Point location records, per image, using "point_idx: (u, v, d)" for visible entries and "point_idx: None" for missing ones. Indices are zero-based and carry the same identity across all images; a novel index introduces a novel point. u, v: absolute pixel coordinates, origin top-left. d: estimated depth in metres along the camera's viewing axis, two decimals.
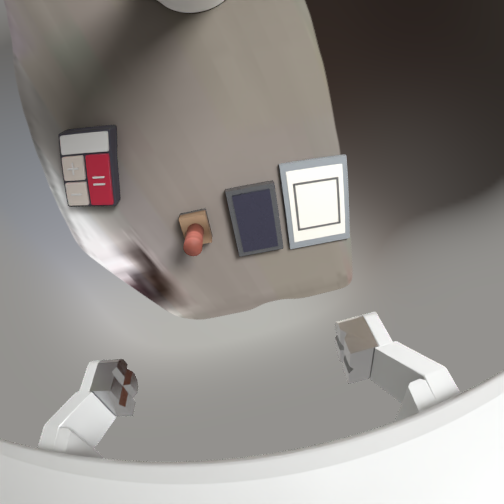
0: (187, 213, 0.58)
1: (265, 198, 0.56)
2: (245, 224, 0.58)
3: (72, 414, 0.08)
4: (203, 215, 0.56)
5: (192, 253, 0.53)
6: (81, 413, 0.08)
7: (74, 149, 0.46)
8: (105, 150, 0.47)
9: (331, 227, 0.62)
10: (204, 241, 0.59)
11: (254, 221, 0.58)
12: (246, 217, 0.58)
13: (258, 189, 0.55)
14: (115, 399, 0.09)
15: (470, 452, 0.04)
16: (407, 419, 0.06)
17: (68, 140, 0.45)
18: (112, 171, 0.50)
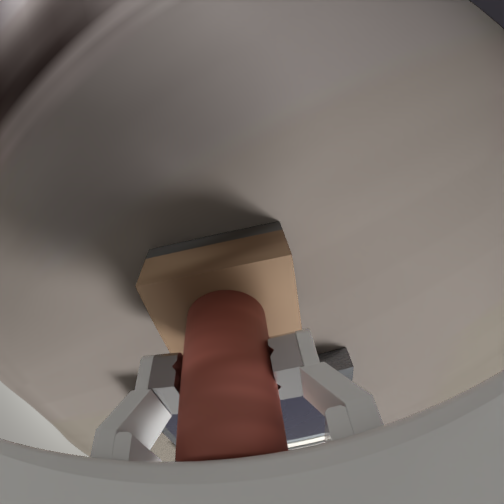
0: None
1: (317, 429, 0.20)
2: None
3: (129, 416, 0.08)
4: None
5: None
6: (139, 413, 0.08)
7: None
8: None
9: None
10: (177, 348, 0.13)
11: None
12: None
13: None
14: (177, 395, 0.09)
15: (470, 452, 0.04)
16: (407, 419, 0.06)
17: None
18: None
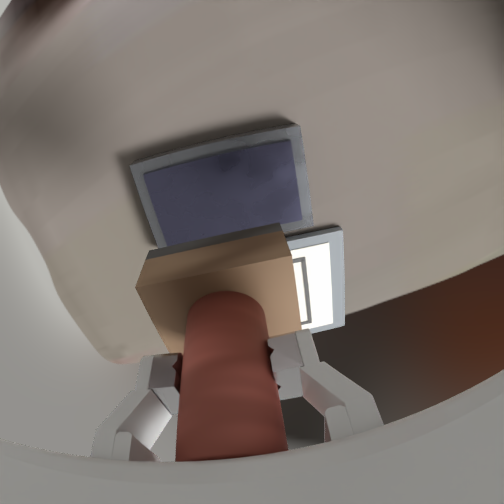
0: None
1: (283, 212, 0.26)
2: (218, 173, 0.24)
3: (129, 416, 0.08)
4: None
5: None
6: (139, 414, 0.08)
7: None
8: None
9: None
10: (177, 348, 0.13)
11: (227, 192, 0.24)
12: (237, 174, 0.24)
13: (301, 196, 0.26)
14: (177, 395, 0.09)
15: (470, 452, 0.04)
16: (407, 419, 0.06)
17: None
18: None
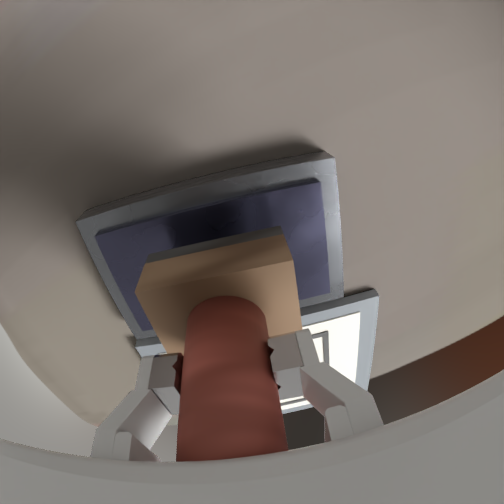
0: None
1: (304, 285, 0.18)
2: (207, 234, 0.15)
3: (129, 416, 0.08)
4: None
5: None
6: (139, 414, 0.08)
7: None
8: None
9: None
10: None
11: None
12: None
13: (331, 260, 0.17)
14: (177, 395, 0.09)
15: (470, 452, 0.04)
16: (407, 419, 0.06)
17: None
18: None
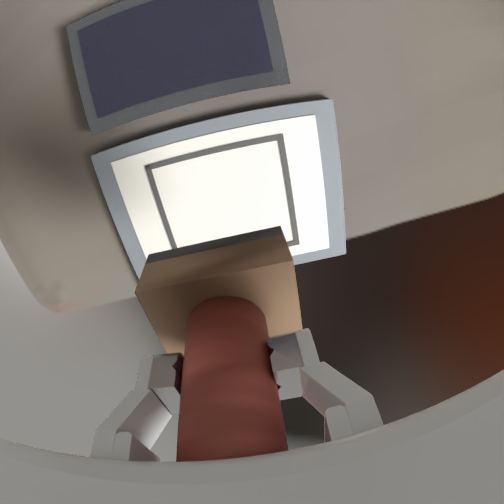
0: None
1: (246, 60, 0.16)
2: (163, 16, 0.14)
3: (130, 416, 0.08)
4: None
5: None
6: (139, 414, 0.08)
7: None
8: None
9: (164, 248, 0.24)
10: None
11: (172, 37, 0.15)
12: (186, 15, 0.14)
13: (271, 43, 0.16)
14: (177, 395, 0.09)
15: (470, 452, 0.04)
16: (407, 419, 0.06)
17: None
18: None
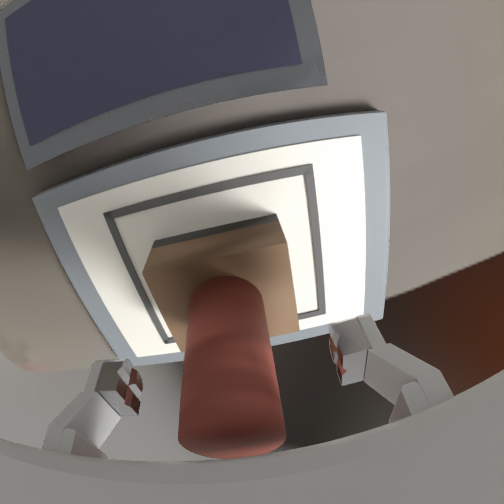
0: None
1: (257, 44, 0.09)
2: None
3: (76, 414, 0.08)
4: (294, 328, 0.14)
5: (194, 440, 0.08)
6: (86, 413, 0.08)
7: None
8: None
9: (142, 320, 0.17)
10: (180, 333, 0.14)
11: (135, 11, 0.08)
12: None
13: (297, 19, 0.09)
14: (120, 398, 0.09)
15: (470, 452, 0.04)
16: (407, 419, 0.06)
17: None
18: None
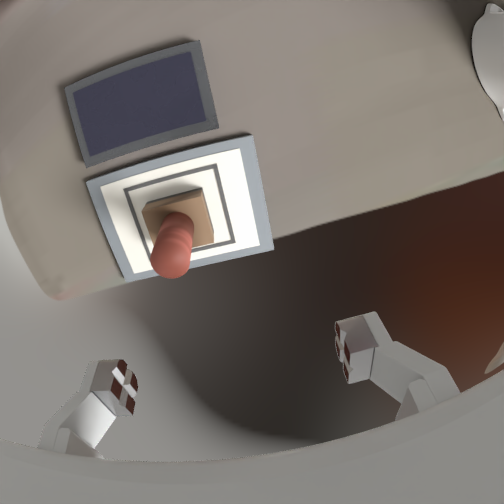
0: (205, 203, 0.30)
1: (187, 114, 0.26)
2: (130, 84, 0.23)
3: (72, 414, 0.08)
4: (211, 240, 0.30)
5: (155, 260, 0.23)
6: (81, 413, 0.08)
7: None
8: None
9: (138, 247, 0.33)
10: None
11: (137, 100, 0.24)
12: (146, 83, 0.24)
13: (204, 99, 0.25)
14: (115, 399, 0.09)
15: (470, 452, 0.04)
16: (407, 419, 0.06)
17: None
18: None
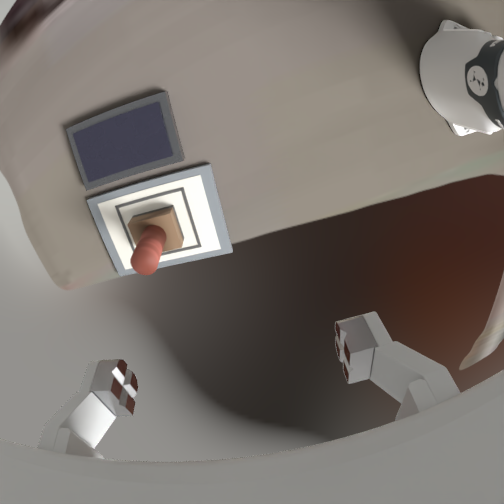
0: (176, 217, 0.39)
1: (158, 151, 0.34)
2: (115, 128, 0.32)
3: (71, 415, 0.08)
4: (179, 246, 0.39)
5: (134, 262, 0.33)
6: (81, 413, 0.08)
7: None
8: None
9: (128, 249, 0.42)
10: None
11: (121, 140, 0.33)
12: (126, 127, 0.32)
13: (171, 139, 0.34)
14: (115, 399, 0.09)
15: (470, 452, 0.04)
16: (407, 419, 0.06)
17: None
18: None
